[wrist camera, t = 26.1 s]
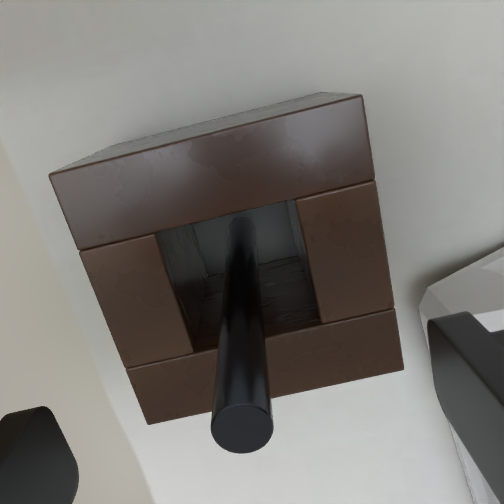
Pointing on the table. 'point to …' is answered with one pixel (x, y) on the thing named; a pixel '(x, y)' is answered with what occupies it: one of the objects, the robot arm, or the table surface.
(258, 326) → the stylus
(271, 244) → the table surface
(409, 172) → the table surface
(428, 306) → the document scanner
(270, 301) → the pen stand
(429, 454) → the table surface
